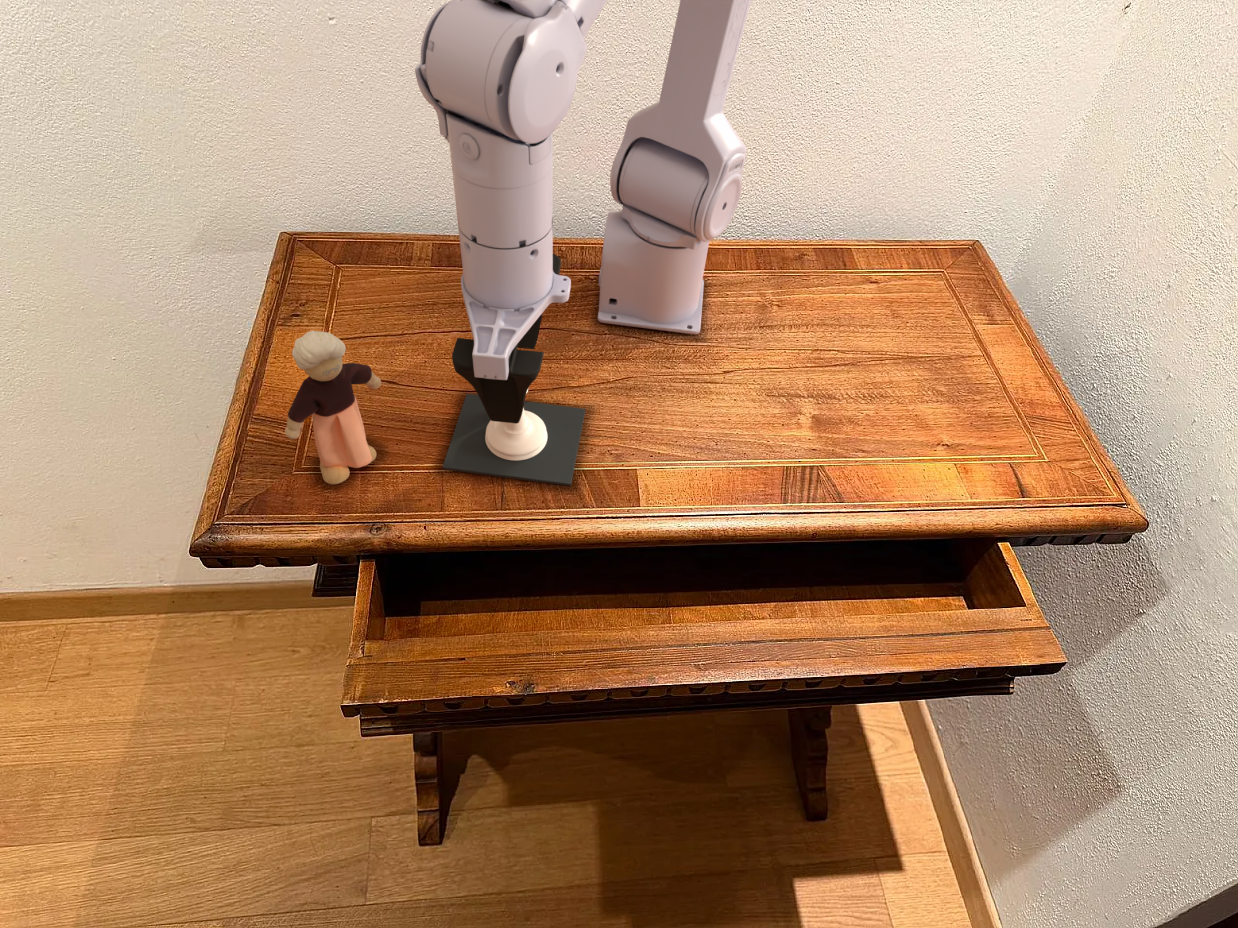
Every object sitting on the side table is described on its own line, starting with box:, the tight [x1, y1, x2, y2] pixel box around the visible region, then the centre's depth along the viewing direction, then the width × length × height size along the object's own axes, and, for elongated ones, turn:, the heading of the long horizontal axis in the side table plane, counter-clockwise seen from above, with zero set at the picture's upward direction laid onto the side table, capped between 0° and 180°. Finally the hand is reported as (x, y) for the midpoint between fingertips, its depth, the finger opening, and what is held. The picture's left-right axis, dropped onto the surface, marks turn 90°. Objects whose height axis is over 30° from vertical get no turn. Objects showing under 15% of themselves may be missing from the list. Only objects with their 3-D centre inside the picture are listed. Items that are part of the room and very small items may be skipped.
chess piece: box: [485, 389, 547, 461], centre depth 60 cm, size 5×5×10 cm
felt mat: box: [442, 393, 586, 487], centre depth 64 cm, size 10×8×1 cm
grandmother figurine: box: [284, 330, 382, 485], centre depth 57 cm, size 8×4×13 cm, turn 148°
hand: (513, 380), depth 59 cm, fingers open, 7 cm apart
